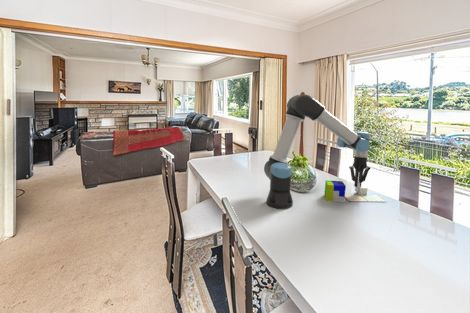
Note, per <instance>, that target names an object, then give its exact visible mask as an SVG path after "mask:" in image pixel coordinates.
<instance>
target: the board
mask: <svg viewBox="0 0 470 313" xmlns="http://www.w3.org/2000/svg"><path fill="white" fill-rule="evenodd" d="M345 199H346V200H348V202H350V203H353V202H354V203H387V201H386V200H384V199H383V198H381V197H380V196H379V195H375V194H374V195H370V194H367V195H359V194H352V195H351V194H345Z"/></svg>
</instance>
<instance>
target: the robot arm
mask: <svg viewBox="0 0 470 313" xmlns="http://www.w3.org/2000/svg"><path fill="white" fill-rule="evenodd" d="M285 116H286V119H285V121H284V124H283V128H282V130H281V133H280V136H279V138H278V141H277V144H276V146H275V149H274V152H273V154H272V155H270V156H269V159H268V160H267V161H266V162H265V164H264V166H263V171H264V175H265V176H266V178H268V179H269V180H270V181H269V182H270V183H269V184H270V185H269V192H268V194H267V197H266V205H267V206H268V207H271V208H274V209H289V208H291V207H293V204H294V200H293V197H292V193H291V185H292V174H293V173H292V172H293V171H292V166H291V165H290V164H288V159H287V158H288V157H289V153H290V150H291V148H292V146H293V143H294V140H295V138H296V135H297V132H298V130H299V127H300V124H301V123H302V122H304V121H305V119H306V118H308V119H310V120H311V121H313V122H314V121H316V122H317V123H319V124H320V125H321V126H323V127H324V128H325V129H327V130H328V131H329V132H331V133H332V134H334V136H336V137H337V139H336V144H337V147H339V148H346V149H351V150H354V157H353V164H352V165H350V166H348V168H349V170H350V176H351V181H353V182H354V184H353V185H354V191H355V192H356V193H357V192H359V189H360V187H361V186H362V183H363V182H366V178H367V176H368V173H369V171H370V170H371V167H370V166H368V164H367V162H368V155H369V149H370V148H371V147H370V146H371V143H370V140H371V139H370V137H371V134H370V133H369V132H368V131H357V132H355V131H354V130H352V129H351V128H349V127H348V126H347V125H345V124H344V123H343V122H342V121H340V120H339V119H338V118H337V117H336V116H334V115H333V114H331V113H330V112H329V111H327V110H326V108H325V105H323V104H322V103H320V102H319V101H318V100H317V99H315V97H313V96H311V95H309V94H297V95H293V96H292V97H291V98H289V100H288V101H287V103H286V113H285ZM354 169H355V170H354Z"/></svg>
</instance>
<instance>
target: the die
mask: <svg viewBox="0 0 470 313" xmlns="http://www.w3.org/2000/svg"><path fill="white" fill-rule="evenodd" d="M356 193H357V195H368V187H366V186H365V185H361V187H360V189H359V192H356Z"/></svg>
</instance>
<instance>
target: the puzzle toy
mask: <svg viewBox="0 0 470 313" xmlns="http://www.w3.org/2000/svg"><path fill="white" fill-rule="evenodd" d="M346 188H347V187H346V184H345V183H344V182H343V181H342V180H325V186H324V198H325V200H326V201H327V202H337V203H338V202H341V203H344V202H345V199H346V198H345V195H346Z"/></svg>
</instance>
